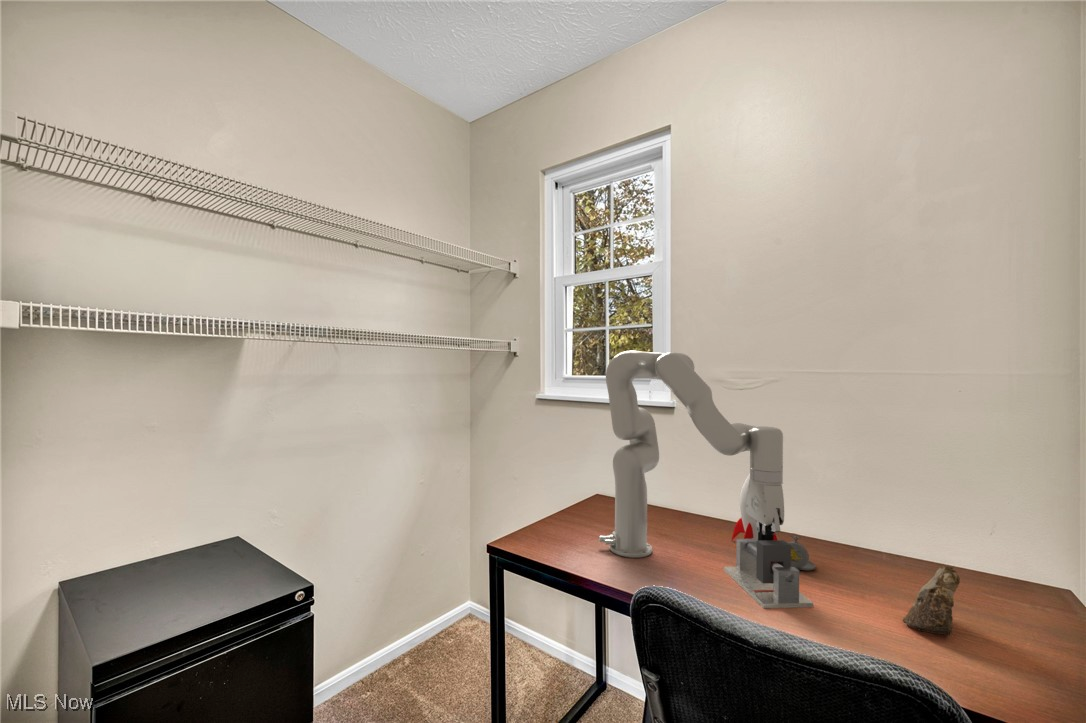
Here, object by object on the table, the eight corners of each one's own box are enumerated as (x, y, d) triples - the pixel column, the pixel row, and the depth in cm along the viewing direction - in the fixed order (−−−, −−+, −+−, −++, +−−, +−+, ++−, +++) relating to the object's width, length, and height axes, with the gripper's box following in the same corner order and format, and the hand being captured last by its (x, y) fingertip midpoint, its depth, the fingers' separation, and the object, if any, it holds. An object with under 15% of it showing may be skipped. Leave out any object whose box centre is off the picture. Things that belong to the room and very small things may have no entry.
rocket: (767, 542, 148) (768, 463, 149) (781, 556, 138) (782, 471, 138) (731, 540, 150) (731, 462, 150) (742, 554, 139) (742, 470, 139)
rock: (899, 569, 112) (919, 548, 101) (940, 582, 109) (964, 563, 98) (894, 632, 105) (914, 617, 94) (937, 648, 102) (963, 635, 91)
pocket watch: (812, 563, 133) (812, 528, 133) (819, 576, 125) (819, 538, 125) (780, 559, 135) (780, 524, 136) (785, 571, 127) (785, 534, 128)
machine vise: (763, 608, 108) (764, 571, 108) (723, 570, 128) (724, 539, 128) (813, 607, 108) (813, 570, 109) (766, 569, 128) (766, 538, 128)
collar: (762, 583, 113) (763, 545, 113) (756, 577, 116) (756, 540, 116) (790, 582, 113) (791, 544, 113) (783, 577, 116) (783, 540, 116)
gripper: (737, 469, 126) (736, 538, 125) (768, 483, 111) (767, 561, 110) (764, 469, 126) (763, 537, 126) (798, 483, 111) (798, 560, 111)
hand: (765, 548), depth 118 cm, fingers closed
